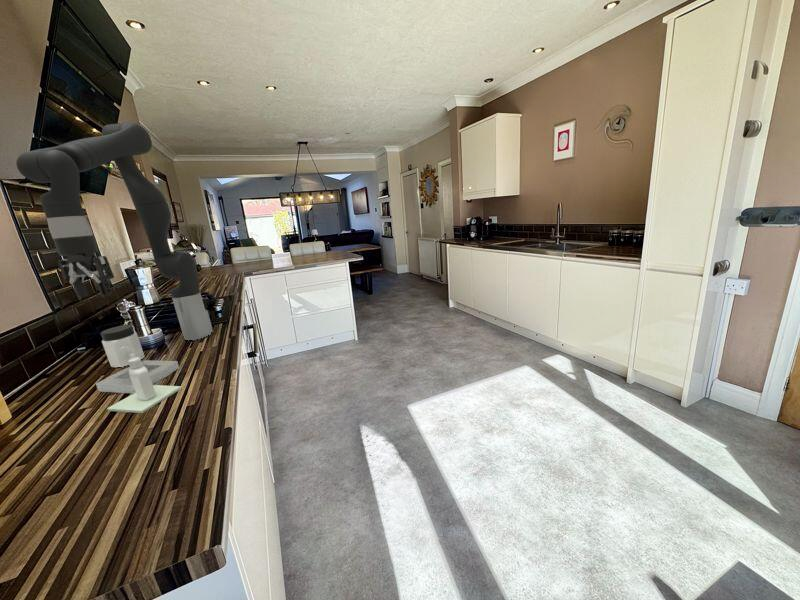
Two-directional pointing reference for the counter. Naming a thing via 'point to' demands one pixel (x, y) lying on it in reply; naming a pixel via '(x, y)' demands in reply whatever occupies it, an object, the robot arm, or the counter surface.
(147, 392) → the eye dropper bottle
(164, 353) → the counter surface
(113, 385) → the collar block
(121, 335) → the jar
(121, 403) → the sage mat
